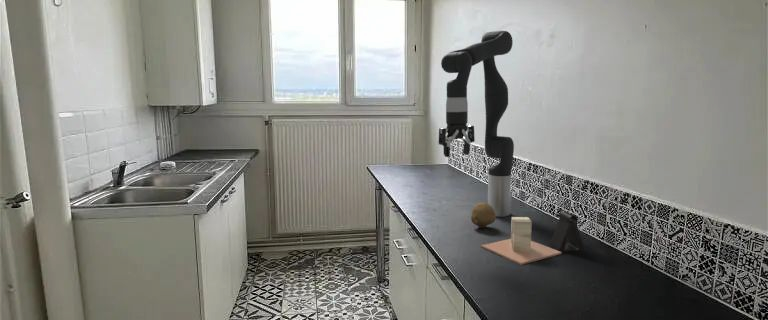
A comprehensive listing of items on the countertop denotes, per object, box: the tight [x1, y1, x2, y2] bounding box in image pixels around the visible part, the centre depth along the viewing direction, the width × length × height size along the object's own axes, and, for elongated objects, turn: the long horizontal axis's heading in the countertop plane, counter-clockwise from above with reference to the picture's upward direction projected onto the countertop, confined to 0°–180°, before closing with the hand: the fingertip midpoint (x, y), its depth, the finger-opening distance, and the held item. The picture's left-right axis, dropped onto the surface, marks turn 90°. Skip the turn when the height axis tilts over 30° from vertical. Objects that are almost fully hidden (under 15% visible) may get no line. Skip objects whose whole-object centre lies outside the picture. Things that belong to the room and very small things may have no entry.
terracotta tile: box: [480, 238, 563, 266], centre depth 148 cm, size 18×18×1 cm
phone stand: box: [549, 210, 585, 253], centre depth 149 cm, size 9×6×12 cm, turn 99°
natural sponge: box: [470, 201, 496, 228], centre depth 172 cm, size 9×9×10 cm
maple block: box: [510, 216, 533, 252], centre depth 148 cm, size 5×5×10 cm
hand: (456, 155), depth 161 cm, fingers open, 8 cm apart
